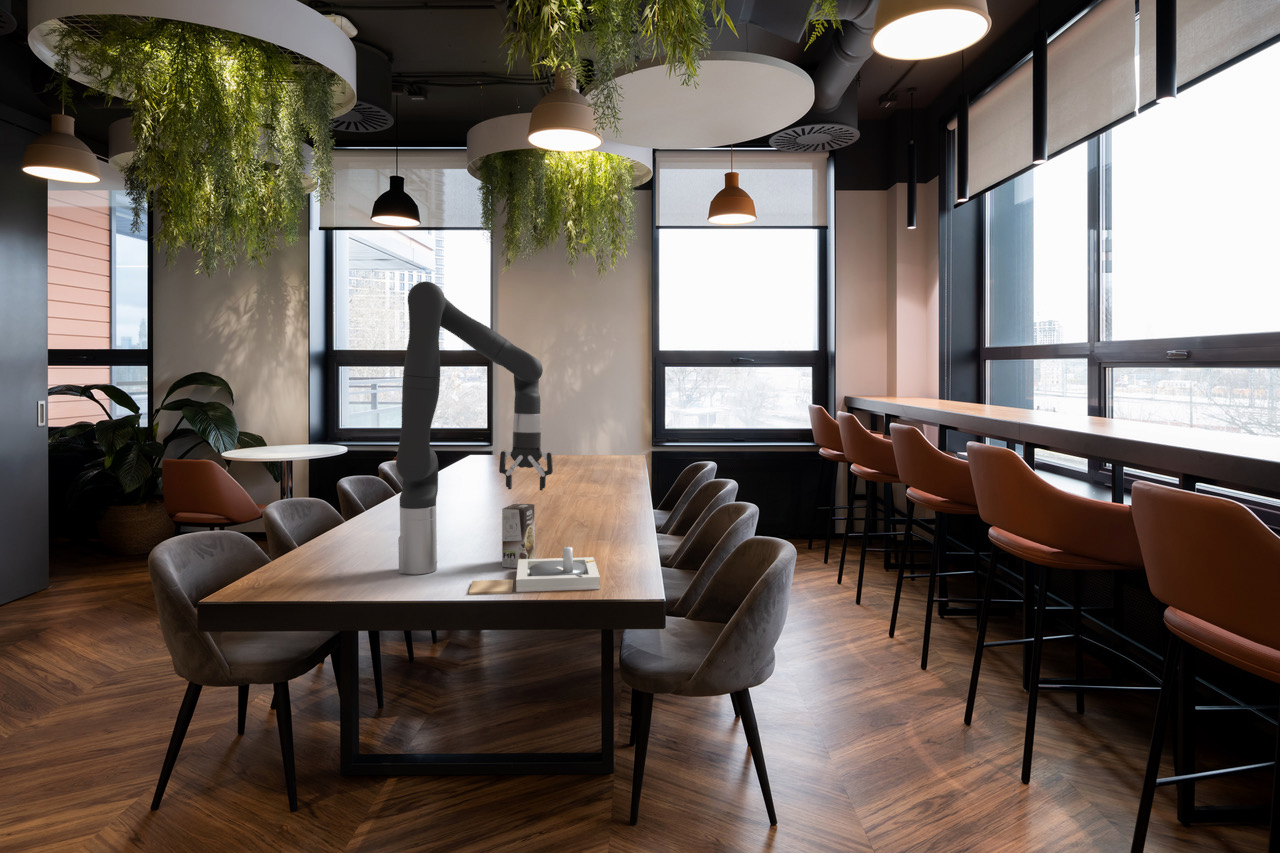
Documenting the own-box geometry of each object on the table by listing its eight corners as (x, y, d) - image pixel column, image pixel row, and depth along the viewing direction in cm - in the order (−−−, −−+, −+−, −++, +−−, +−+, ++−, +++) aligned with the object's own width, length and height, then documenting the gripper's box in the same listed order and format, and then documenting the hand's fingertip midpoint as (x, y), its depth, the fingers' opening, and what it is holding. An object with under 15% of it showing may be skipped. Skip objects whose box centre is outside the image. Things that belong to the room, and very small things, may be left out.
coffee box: (524, 568, 198) (523, 509, 197) (501, 567, 199) (501, 508, 198) (535, 560, 207) (535, 503, 206) (513, 559, 208) (513, 502, 207)
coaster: (468, 594, 174) (468, 592, 174) (472, 583, 184) (472, 580, 184) (512, 593, 175) (512, 590, 175) (513, 581, 185) (513, 579, 185)
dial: (519, 572, 189) (519, 543, 188) (565, 564, 197) (565, 536, 197) (547, 585, 178) (547, 553, 177) (595, 575, 186) (595, 545, 186)
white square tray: (516, 591, 176) (516, 578, 176) (518, 570, 196) (518, 558, 196) (600, 589, 179) (600, 575, 179) (593, 568, 199) (593, 556, 199)
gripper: (498, 430, 197) (497, 490, 198) (551, 432, 197) (550, 492, 198) (503, 428, 204) (501, 486, 205) (554, 430, 204) (553, 488, 205)
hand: (525, 489), depth 202 cm, fingers open, 8 cm apart
